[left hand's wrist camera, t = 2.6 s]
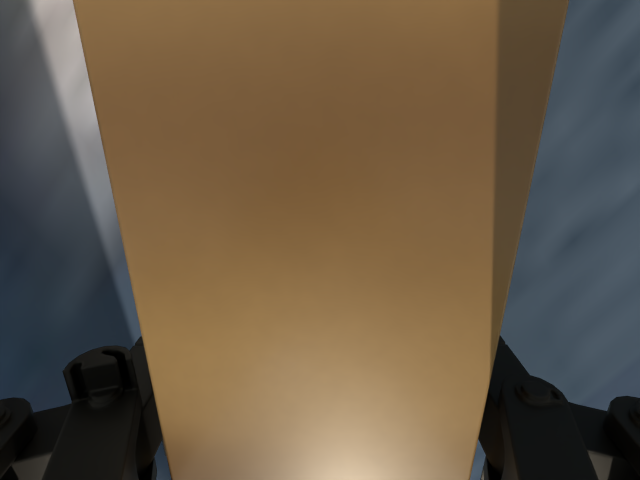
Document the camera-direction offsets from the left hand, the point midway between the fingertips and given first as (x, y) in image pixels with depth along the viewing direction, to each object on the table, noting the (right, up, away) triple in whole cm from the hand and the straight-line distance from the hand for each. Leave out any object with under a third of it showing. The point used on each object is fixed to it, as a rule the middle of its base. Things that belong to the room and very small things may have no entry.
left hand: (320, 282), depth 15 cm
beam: (0, +19, -7) cm, 20 cm away
